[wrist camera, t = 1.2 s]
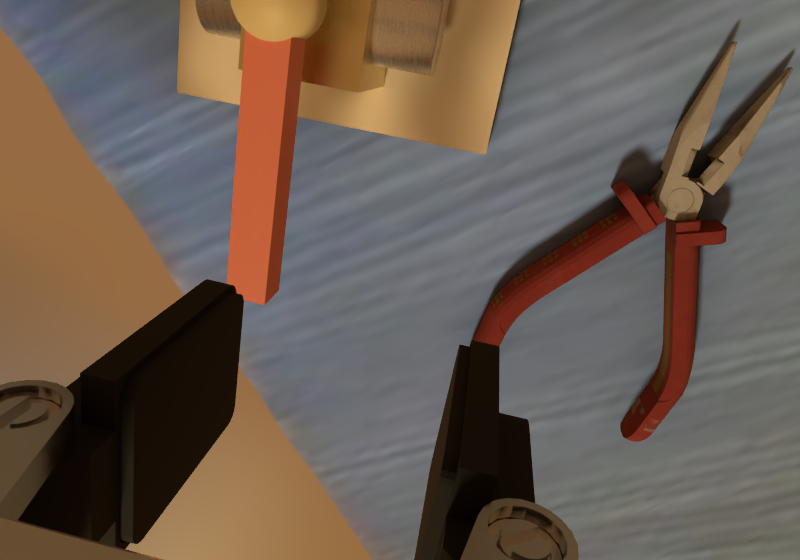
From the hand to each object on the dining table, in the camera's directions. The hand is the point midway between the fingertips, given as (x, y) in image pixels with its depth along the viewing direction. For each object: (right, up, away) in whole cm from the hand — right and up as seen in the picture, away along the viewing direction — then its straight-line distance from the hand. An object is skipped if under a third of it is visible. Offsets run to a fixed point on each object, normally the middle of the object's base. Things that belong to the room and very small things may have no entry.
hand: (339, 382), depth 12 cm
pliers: (+15, +2, +21) cm, 25 cm away
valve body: (-2, +14, +16) cm, 22 cm away
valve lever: (-4, +7, +11) cm, 14 cm away
